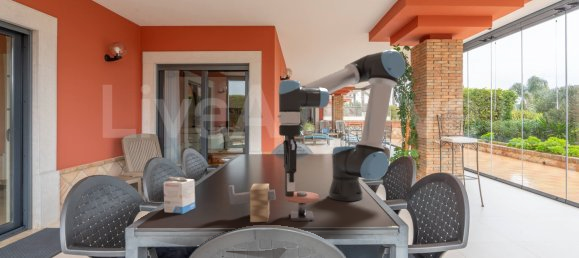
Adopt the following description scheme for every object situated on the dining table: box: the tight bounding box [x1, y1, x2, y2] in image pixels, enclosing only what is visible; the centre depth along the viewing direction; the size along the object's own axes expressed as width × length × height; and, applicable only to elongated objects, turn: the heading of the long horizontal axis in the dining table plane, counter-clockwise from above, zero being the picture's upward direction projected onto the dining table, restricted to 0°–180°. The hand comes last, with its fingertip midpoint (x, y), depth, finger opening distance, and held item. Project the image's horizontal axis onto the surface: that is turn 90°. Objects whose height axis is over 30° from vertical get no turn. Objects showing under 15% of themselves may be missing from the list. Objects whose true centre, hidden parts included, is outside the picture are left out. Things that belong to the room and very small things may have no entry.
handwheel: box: [284, 164, 320, 204], centre depth 116 cm, size 12×12×12 cm
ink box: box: [163, 176, 196, 215], centre depth 126 cm, size 9×8×13 cm
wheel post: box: [290, 203, 315, 222], centre depth 117 cm, size 8×8×6 cm
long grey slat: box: [227, 184, 276, 206], centre depth 116 cm, size 16×3×6 cm, turn 90°
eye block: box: [249, 183, 270, 223], centre depth 116 cm, size 6×10×11 cm, turn 1°
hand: (289, 189), depth 116 cm, fingers open, 3 cm apart
